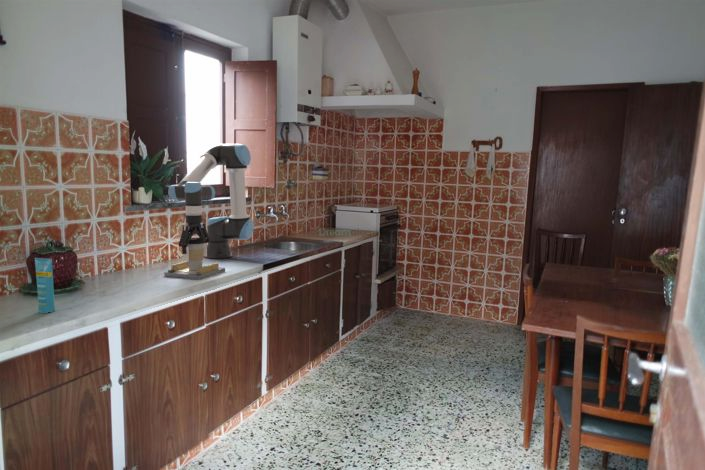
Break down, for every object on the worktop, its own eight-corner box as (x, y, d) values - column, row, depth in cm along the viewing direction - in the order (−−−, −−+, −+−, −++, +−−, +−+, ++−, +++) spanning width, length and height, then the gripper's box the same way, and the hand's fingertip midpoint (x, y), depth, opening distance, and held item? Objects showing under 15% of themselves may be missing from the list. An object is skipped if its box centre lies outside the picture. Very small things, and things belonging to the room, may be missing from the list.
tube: (32, 312, 169) (28, 258, 167) (43, 309, 174) (39, 256, 172) (51, 314, 168) (47, 259, 166) (61, 310, 173) (58, 257, 170)
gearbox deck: (192, 268, 248) (191, 258, 248) (225, 271, 242) (225, 261, 241) (164, 276, 230) (164, 265, 229) (199, 280, 223) (199, 269, 222)
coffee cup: (199, 271, 230) (198, 240, 228) (181, 270, 232) (180, 239, 230) (209, 268, 239) (208, 237, 237) (191, 266, 241) (190, 237, 239)
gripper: (203, 212, 245) (205, 253, 248) (169, 216, 222) (171, 262, 224) (216, 212, 242) (217, 254, 245) (182, 217, 219) (184, 263, 222)
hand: (195, 258), depth 235 cm, fingers open, 13 cm apart
